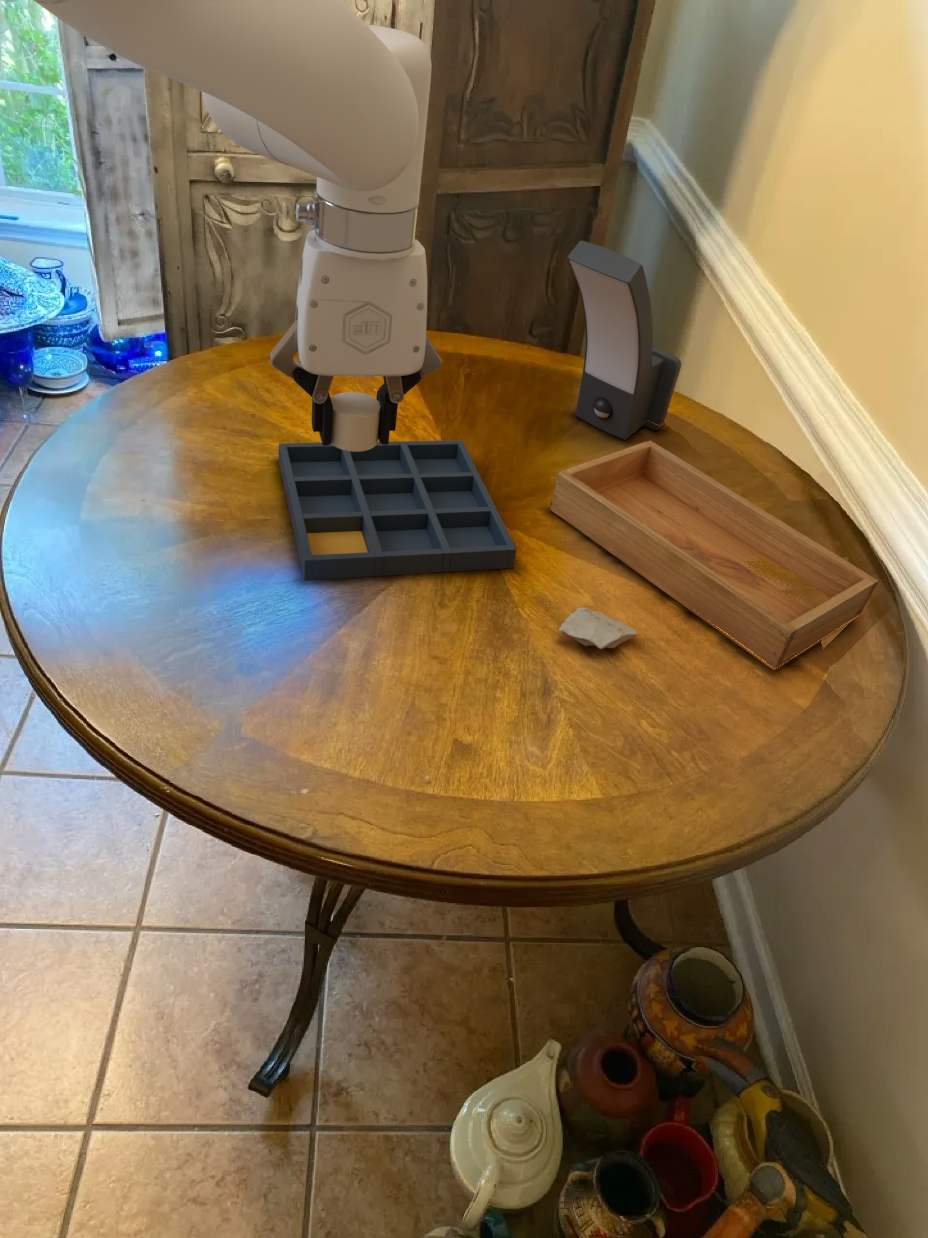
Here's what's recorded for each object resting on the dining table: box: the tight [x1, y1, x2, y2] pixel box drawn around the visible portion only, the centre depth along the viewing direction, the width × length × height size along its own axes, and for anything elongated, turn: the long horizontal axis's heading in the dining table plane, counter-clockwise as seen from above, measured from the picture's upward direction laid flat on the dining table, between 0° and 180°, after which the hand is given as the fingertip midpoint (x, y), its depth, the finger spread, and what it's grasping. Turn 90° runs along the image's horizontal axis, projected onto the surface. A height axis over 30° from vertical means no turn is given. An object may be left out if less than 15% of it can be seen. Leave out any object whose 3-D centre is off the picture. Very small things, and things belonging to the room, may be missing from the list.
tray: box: [550, 440, 879, 671], centre depth 96 cm, size 31×15×6 cm, turn 39°
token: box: [330, 391, 381, 452], centre depth 79 cm, size 4×4×3 cm
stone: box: [558, 606, 639, 650], centre depth 86 cm, size 6×2×6 cm
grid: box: [278, 439, 518, 581], centre depth 97 cm, size 21×21×2 cm
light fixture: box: [566, 240, 682, 441], centre depth 110 cm, size 11×17×24 cm, turn 140°
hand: (353, 435), depth 80 cm, fingers closed on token, 4 cm apart
